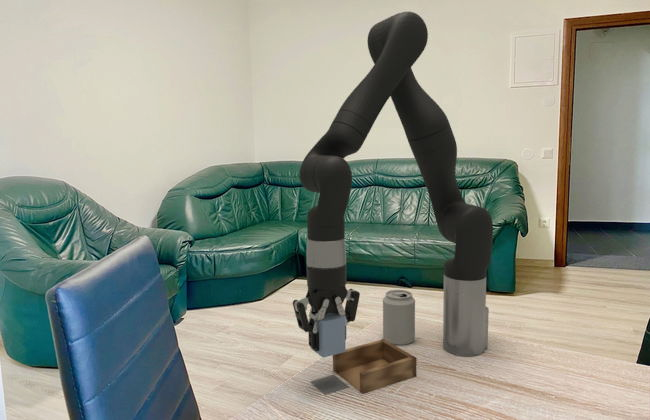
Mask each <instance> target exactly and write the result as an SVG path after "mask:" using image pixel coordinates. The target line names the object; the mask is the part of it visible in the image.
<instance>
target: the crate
mask: <svg viewBox="0 0 650 420" xmlns="http://www.w3.org/2000/svg"><path fill="white" fill-rule="evenodd" d="M332 370H333V371H332V372H334V373H335V374H336V375H338V376H339V377H340V378H342V379H343V381H346V382H347V383H348V384H349V385H351V386H352V387H354V389H356V390H357V391H359V392H360V393H361V394H362V395H364V394H368V393H370V392H374V391H377V390H379V389H383V388H385V387H388V386H391V385H394V384H397V383H400V382H404V381H406V380H410V379H413V378H416V377H417V357H415V356H414V355H413V354H410V353H409V352H407V351H406V350H404V349H402V348H401V347H398V345H395V344H391V343H390V342H388V341H386V340H384V339H383V338H382V339H379V340H375V341H371V342H368V343H365V344H361V345H357V346H354V347H350V348H346V352H343V353H339V354H335V355H332Z"/></svg>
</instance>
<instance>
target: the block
mask: <svg viewBox="0 0 650 420" xmlns="http://www.w3.org/2000/svg"><path fill="white" fill-rule="evenodd" d="M317 315H318V313H317ZM318 333H319V351H314V350H313V349H312V348H311V347H310V349H311V350H312V351H314V352H315V353H316V354H317V355H319V357H320V356H321V358H322V359H323V358H327V357H331V356H333V355H335V354H339V353H343V352H346V349H347V348H346V341H345V317H344V316H339V315H337V314H335V313H329V314H327V315H324V318H323V320H322V321H320V322H319V330H318Z"/></svg>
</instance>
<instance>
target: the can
mask: <svg viewBox="0 0 650 420" xmlns="http://www.w3.org/2000/svg"><path fill="white" fill-rule="evenodd" d="M382 337H383V338H382V339H384V340H386V341H388V342H390V343H391V344H393V345H395V346H404V345H409V344H411V343H413V342H414V341H415V339H416V300H415V297H413V293H412V292H411V291H409V290H405V289H390V290H388V291H386V292H385V296H384V297H383V298H382Z"/></svg>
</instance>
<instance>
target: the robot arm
mask: <svg viewBox="0 0 650 420" xmlns="http://www.w3.org/2000/svg"><path fill="white" fill-rule="evenodd" d="M428 36H429V33H428V27H427V24H426V22H425V21H424V19H423V18H422V17H421V16H420V15H419V14H418V13H416V12H413V11H402V12H398V13H396V14H394V15H391V16H389V17H387V18H385V19H383V20H381V21H379V22H377V23H375V24H374V25H372V27H371V28H370V30H369V32H368V35H367V49H368V52H369V55H370V58H371V60H372V63H373V64H374V65H373V66H372V68H371V69H370V70H369V72H368V73H367V74H366V75H365V76H364V78H363V79H362V80H361V81H360V82H359V83H358V84H357V86H356V87H355V88H354V89H353V90H352V92H350V93H349V95H348V96H347V97H346V99H345V100H344V102H343V103H342V105H341V106H340V108H339V110H338V111H337V113H336V115H335V116H334V119H332V122H331V124H330V126H329V128H328V130H327V131H326V133H324V135H322V136H321V137H320V138H319V139H318V141H317V142H316V143H315V144H314V145H313V147H312V148H311V149H310V150H309V151H308V153H307V154H306V156H305V157H304V159H303V161H302V162H301V165H300V168H299V174H298V175H299V181H300V184H301V185H302V188H304V189H305V190H307V191H309V192H311V193H316V194H317V193H318V194H319V195H318V199H317V205H316V206H312V208H310V209H309V210H308V212H307V215H306V224H307V225H306V228H307V230H306V231H307V233H306V234H307V243H306V253H305V254H306V256H305V257H306V284H307V285H306V286H307V292H306V296H305V297H303V298H301V299H299V300H298V299H294V300H293V301H292V307H293V311H294V314H295V318H296V321H297V325H298V328H299V329H301V330H302V331H303V332H304V333H308V346H309V348H310V349H311V348H312V349H313V350H312V349H311V350H312V351H314V352H315V351H319V333H318V330H319V322H320V321H322V320H323V318H324V315H327V314H329V313H335V314H337V315H339V316H344V317H345V342H346V341H347V326H348V324H349V323H350V322H354V321H355V320H356V316H357V312H358V306H359V302H360V301H359V300H360V297H361V295H360V292H359V291H358V290H356V289H353V288H349V289H347V287H346V285H347V248H346V247H347V246H346V237H345V233H346V232H345V231H346V230H345V227H346V226H345V215H346V211H347V208H348V205H349V199H350V195H351V190H352V186H353V173H352V170H351V167H350V164H349V163H348V161H347V160H345V158H346V157H348V156H350V155H353V154H356V153H358V151H359V150H360V149H361V148H362V146H363V144H364V143H365V140H366V139H367V137H368V136H369V133H370V132H371V129H372V128H373V126H374V125H375V122H376V120H377V118H378V117H379V115H380V113H381V111H382V110H383V108H384V107H385V105H386V103H387V102H388V100H389V99H391V101H392V103H393V106H394V108H395V110H396V111H395V112H396V114H397V116H398V118H399V120H400V122H401V125H402V127H403V131H404V134H405V136H406V140H407V142H408V145H409V147H410V150H411V152H412V155H413V157H414V159H415V163H416V164H417V167H418V170H419V172H420V175H421V177H422V180H423V183H424V185H425V187H426V190H427V193H428V196H429V199H430V203H431V207H432V210H433V215H434V218H435V221H436V224H437V225H436V226H437V229H438V231H439V232H440V234H441V236H442V237H443V238H444V239H445V240H447V241H448V242H451V243H453V244H455V246H454V247H455V248H454V256H453V258H450V259H447V260H446V261H445V262H444V263H443V309H442V310H443V311H442V313H443V315H442V317H443V318H442V321H443V323H442V324H443V325H442V347H443V349H444V350H445V351H446V352H448V353H450V354H453V355H456V356H462V357H463V356H465V357H471V356H472V357H474V356H478V355H481V354H483V353H484V352H485V350H486V349H488V347H489V342H488V341H489V307H487V305H486V303H487V297H486V296H487V275H488V274H487V273H488V272H487V271H488V268H489V267H490V264H491V261H492V249H493V237H494V222H493V219H492V216H491V214H490V212H489V211H488V210H487V209H486V208H484V207H482V206H478V205H473V204H470V203H466V200H465V199H464V196H463V194H462V192H461V190H460V187H459V184H458V181H457V176H456V168H457V158H458V146H457V142H456V138H455V135H454V132H453V130H452V127H451V124H450V121H449V119H448V117H447V115H446V112H445V111H444V110H443V109H442V108H441V107H440V106H439V104H438V103H437V102H436V101H435V100H434V99H433V98H432V97H431V96H430V95H429V94H428V93H427V92H426V91H425V90H424V88H422V86H421V85H420V83H419V82H418V80H417V78H416V76H415V74H414V72H413V69H412V67H413V66H414V64H416V62H417V61H418V59H419V58H420V57H421V55H422V53H424V50H426V46H427V44H428V38H429V37H428ZM344 301H346V302H345V306H343V303H344ZM308 305H310V309H309V314H308V315H307V310H308ZM317 313H318V315H317Z"/></svg>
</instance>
